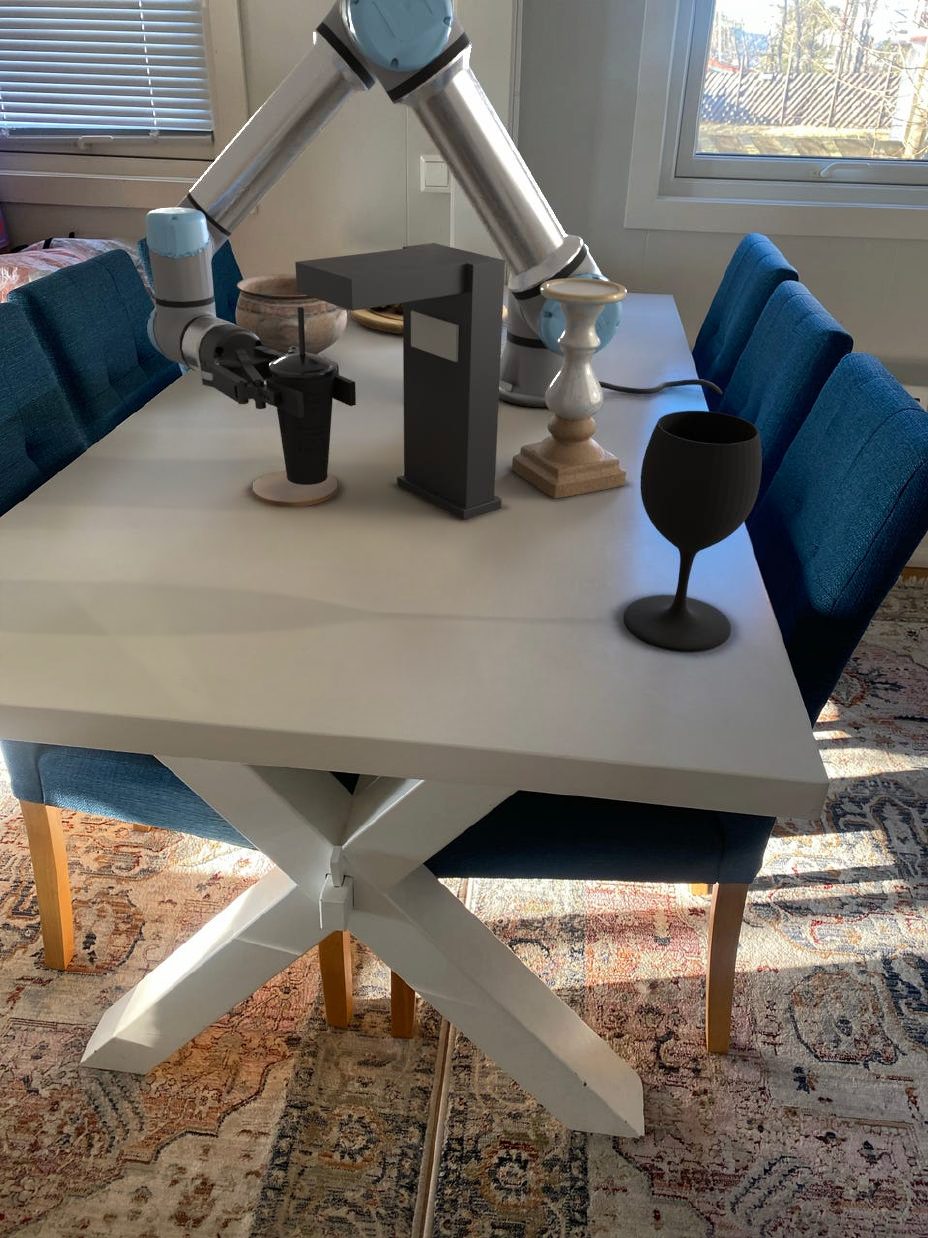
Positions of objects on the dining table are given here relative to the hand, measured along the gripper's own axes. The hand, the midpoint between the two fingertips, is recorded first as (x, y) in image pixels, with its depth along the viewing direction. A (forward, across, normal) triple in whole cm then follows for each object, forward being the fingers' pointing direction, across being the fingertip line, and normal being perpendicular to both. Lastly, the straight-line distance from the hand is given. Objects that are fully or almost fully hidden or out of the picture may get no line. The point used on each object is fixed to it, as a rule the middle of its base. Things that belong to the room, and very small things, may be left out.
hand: (327, 399), depth 109 cm
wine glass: (+42, -12, -14) cm, 46 cm away
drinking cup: (-5, 0, -11) cm, 12 cm away
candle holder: (+10, -30, -14) cm, 34 cm away
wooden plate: (-67, -68, -14) cm, 96 cm away
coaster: (-8, 0, -14) cm, 16 cm away
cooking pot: (-59, -32, -14) cm, 68 cm away
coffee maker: (+5, -7, -13) cm, 16 cm away
